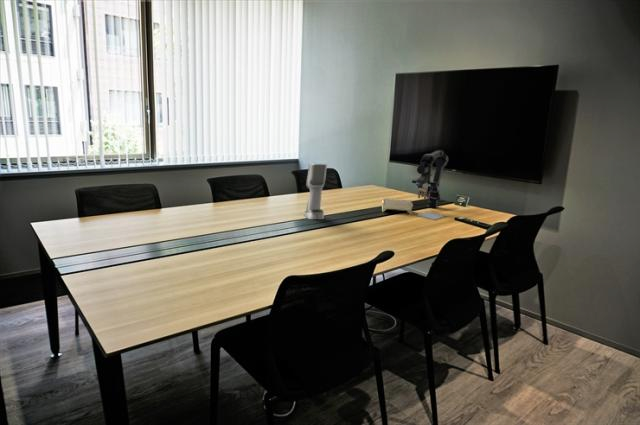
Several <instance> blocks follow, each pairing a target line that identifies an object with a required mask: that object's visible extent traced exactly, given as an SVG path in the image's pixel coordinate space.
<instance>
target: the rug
mask: <svg viewBox="0 0 640 425" xmlns="http://www.w3.org/2000/svg"><path fill="white" fill-rule="evenodd" d="M415 216H416V217H419V218H420V217H421V218H424V219H428V220H433V221H436V220H439V219H442V218H446V215H444V214H440V213H435V212H433V211H432V212H431V211H425V212H422V213H419V214H416V215H415Z"/></svg>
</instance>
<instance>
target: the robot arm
mask: <svg viewBox="0 0 640 425" xmlns="http://www.w3.org/2000/svg"><path fill="white" fill-rule="evenodd" d="M434 162H435V165H436V169H435V173H434V176H433V180H431V176H432V167H433V164H434ZM448 163H449V155H448V154H446V153H445V151H443V150H440V149H436V150H435V151H433V152H431V153H425V154H423V156H422V157H421V160H420V161H419V166H418V167H417V169H416V172H417V173H418V174H419V175H420V176H419V177H418V178H412V180H411V183H412V184H415V185H416V186H417V189H418V190H419V188H422V187H424V185H428V186H427V188H428V191H427V196H428V195H429V194H430V198H429V201H428V205H426V208H431V209H438V208H439V206H437V205H438V201H441V194H440V191H441V190H440V188H439V187H440V182H441V178H442V174H443V170H444V168H445V167H446V166H447V165H448ZM421 193H422V191H421ZM427 199H428V198H427V197H426V200H427Z"/></svg>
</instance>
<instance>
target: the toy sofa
mask: <svg viewBox="0 0 640 425" xmlns="http://www.w3.org/2000/svg"><path fill="white" fill-rule="evenodd" d="M381 203H382V206H381V211H382V212H381V213H384V212H385V211H387V210H398V211H407V213H408V214H409V215H412V209H413V207H414V205H413V200H411V199H394V198H388V197H384V198H383V199H382V200H381Z"/></svg>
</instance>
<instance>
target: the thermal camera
mask: <svg viewBox="0 0 640 425" xmlns="http://www.w3.org/2000/svg"><path fill="white" fill-rule="evenodd" d="M327 168H328V164H327V163H309V164H308V168H307V176H306V182H305V186H306V188H307V189H309V195H308V200H307V203H306V207H305V208H306V209H305V211H304V212H303V216H305V217H306V218H307V220H314V221H315V220H316V219H318V220H324V219H325V214H324V213H325V212H324V210H323V209H321V206H322V191H323V188H324V186H325V183H326V176H327Z"/></svg>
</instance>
